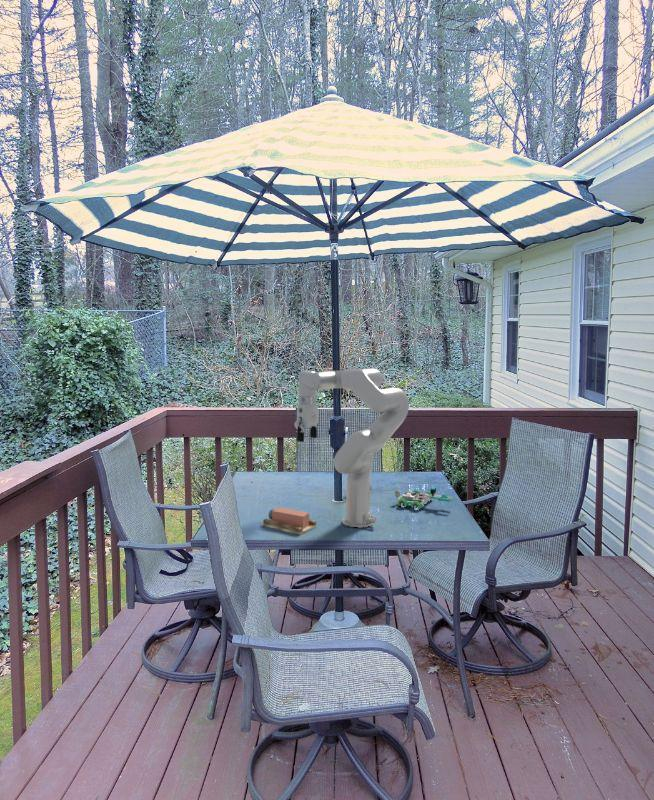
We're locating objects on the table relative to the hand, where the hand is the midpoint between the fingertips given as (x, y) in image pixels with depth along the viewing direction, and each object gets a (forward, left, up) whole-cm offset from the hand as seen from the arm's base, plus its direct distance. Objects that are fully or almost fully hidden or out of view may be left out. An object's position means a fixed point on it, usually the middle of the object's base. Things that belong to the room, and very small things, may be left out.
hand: (307, 439), depth 256 cm
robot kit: (-41, -33, -31) cm, 61 cm away
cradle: (-8, +23, -30) cm, 39 cm away
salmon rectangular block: (-8, +23, -29) cm, 38 cm away
